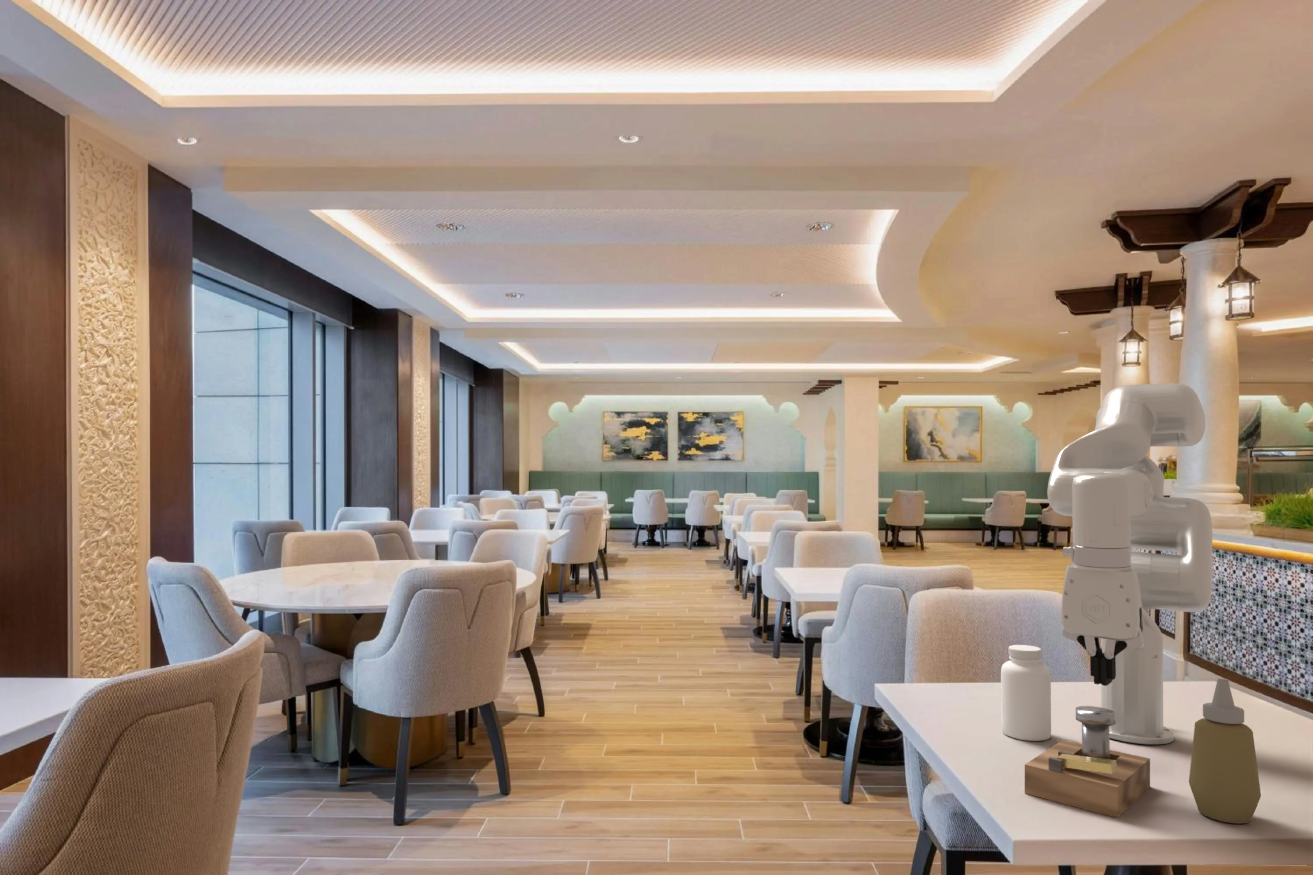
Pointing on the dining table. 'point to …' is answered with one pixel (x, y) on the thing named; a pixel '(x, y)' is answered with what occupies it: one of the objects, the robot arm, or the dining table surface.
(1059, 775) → the block
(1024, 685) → the pill bottle
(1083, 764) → the bar
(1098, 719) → the steel pin
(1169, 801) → the dining table surface
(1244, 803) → the squeeze bottle
